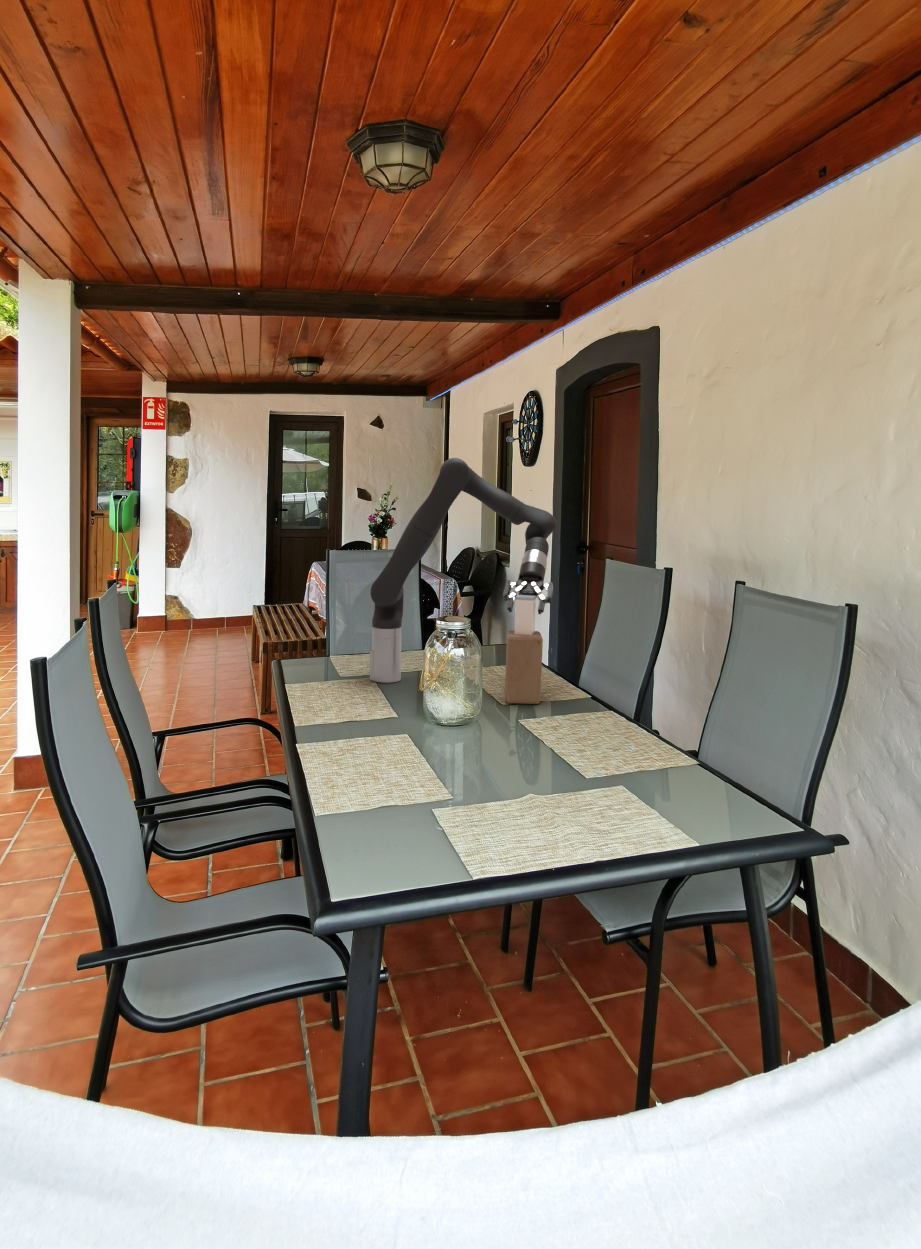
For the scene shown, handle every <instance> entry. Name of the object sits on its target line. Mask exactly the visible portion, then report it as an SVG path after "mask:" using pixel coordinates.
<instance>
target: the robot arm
mask: <svg viewBox="0 0 921 1249" xmlns="http://www.w3.org/2000/svg"><path fill="white" fill-rule="evenodd" d="M461 492H462V493H463V492H464V493H466V494H467V495H470V496H472V497H473V498H475V499H476V500H479V502H481V503H482V504H484V505H485V506H486V507H487V508H489V509H490V510H492V511H493V512H494V513H496V514H497V515H499V516H500V517H502V518H503V519H504V520H506V521H508V522H510V523H511V524H513V525H515V526H520V525H521V524H523V523H529V524H528V525H527V527H526V528H525V534H524V536H525V549H524V553H523V557H522V560H521V564H520V569H519V573H518V577H517V581H516V582H514V581H513V582H512V581H511V580H510V579H507V580H506V582H505V586H504V589H503V592H502V593H503V594H502V596H503V600H504V601H505V602H506V601H507V605H506V608H507V611H508V612H509V613H513V609H514V604H515V602H516V596H518V595H532V596H536V600H538V601H539V602H538V607H537V613H538V615H542V613H544V612H545V608H546V607H545V606H546V604H552V603H553V598H554V597H553V596H554V584H553V582H552V581H550V582H548V583H544V582H545V575H546V571H547V565H548V556H549V546H550V545H549V543H548V541H547V539H548V538H549V536H550V535H551V534H552V533H553V532H554V531H555V530H556V528H557V520H556V518H555V516H554V515H553V514H551V513H550V512H548V511H546V510H545V509H541V508H538V507H535V506H533V505H532V506H531V505H528V504H526V503H524V502H523V501H521V500H520V499H518V498H516V497H515V496H513V495H511V494H510V493H508V492H506V491H505V490H503V489H502V488H500V487H497V486H496V485H495V484H492V483H490V482H489V481H487V480H486V479H484V478H483V477H482V476H480V475H479V474H478V473H476V471H475V470H474V469H472V468H471V467H470V466H469V465H468V464H467V463H466V462H465V460H463V459H461V458H458V457H452V458H448V459H447V460H444V462H443V463H442V464H441V466H440V469H439V473H438V475H437V478H436V480H435V483H434V484H433V487H432V489H431V491H430V492H429V495H428V496H427V497H426V499H425V500H424V501H423V503H422V504H421V505H420V506H419V507H418V509H417V510H416V512H415V513H414V514H413V516H412V517H411V519H409V522H408V524H407V526H406V527H405V529H404V530H403V532H402V534H401V537H400V538H399V540H398V542H397V544H396V546H395V549H394V551H393V553H392V554H391V557H390V559H389V560H388V562H387V563H386V565H385V567H384V568H383V569H382V571H381V573H380V574H379V575H378V576H377V577H376V579H375V580H374V582H373V583H372V584H371V587H370V598H371V600H372V602H373V603H374V611H373V615H372V618H371V619H372V620H371V621H372V622H371V624H372V626H371V631H372V632H371V633H372V634H371V635H372V636H371V650H370V651H369V681H373V682H375V683H390V684H391V683H396V682H399V681H401V680H402V621H403V616H404V615H403V614H404V584H405V582H406V580H407V578H408V576H409V575H410V573H411V572H412V570H413V569H414V567H416V565H418V563H419V562H420V561H421V560H422V558H423V557H424V555H425V554H426V552H427V551H428V550H429V548H431V545H432V544H433V542H434V540H435V539H436V537H437V535H438V533H439V531H440V530H441V527H442V525H443V523H444V521H445V519H446V517H447V514H448V512H449V510H450V508H451V507H452V506H453V504H454V502H455V501H456V499H457V497H459V495H460V494H461ZM544 590H546V592H547V596H545V595H544V594H543V593H542V591H544ZM511 591H512V592H511Z"/></svg>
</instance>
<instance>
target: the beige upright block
mask: <svg viewBox="0 0 921 1249" xmlns="http://www.w3.org/2000/svg"><path fill="white" fill-rule="evenodd" d="M536 600H537V597H536V596H532V595H518V596H516V600H515V603H514V604H515V608H514V609H515V611H514V631H515V633H514V634H521V635H532V634H533V633H534V632H535V631H536V630H535V629H536V626H535V625H536V605H537V601H536Z"/></svg>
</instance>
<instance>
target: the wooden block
mask: <svg viewBox="0 0 921 1249" xmlns="http://www.w3.org/2000/svg"><path fill="white" fill-rule="evenodd" d="M514 633H515V630H512V629H511V630H508V631H507V632H506V646H505V647H506V648H505V650H506V651H505V654H506V655H505V678H504V679H505V680H504V681H505V682H504V698H505V702H506V703H507V704H518V705H523V704H525V705H538V704H540V702H541V693H542V692H541V691H542V690H541V688H542V668H543V666H542V665H543V647H544V646H543V645H544V644H543V643H544V642H543V641H544V640H543V637H542V634H541V632H540V631H538V630H535V632H534V633H533V634H532V635H521V634H514Z"/></svg>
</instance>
